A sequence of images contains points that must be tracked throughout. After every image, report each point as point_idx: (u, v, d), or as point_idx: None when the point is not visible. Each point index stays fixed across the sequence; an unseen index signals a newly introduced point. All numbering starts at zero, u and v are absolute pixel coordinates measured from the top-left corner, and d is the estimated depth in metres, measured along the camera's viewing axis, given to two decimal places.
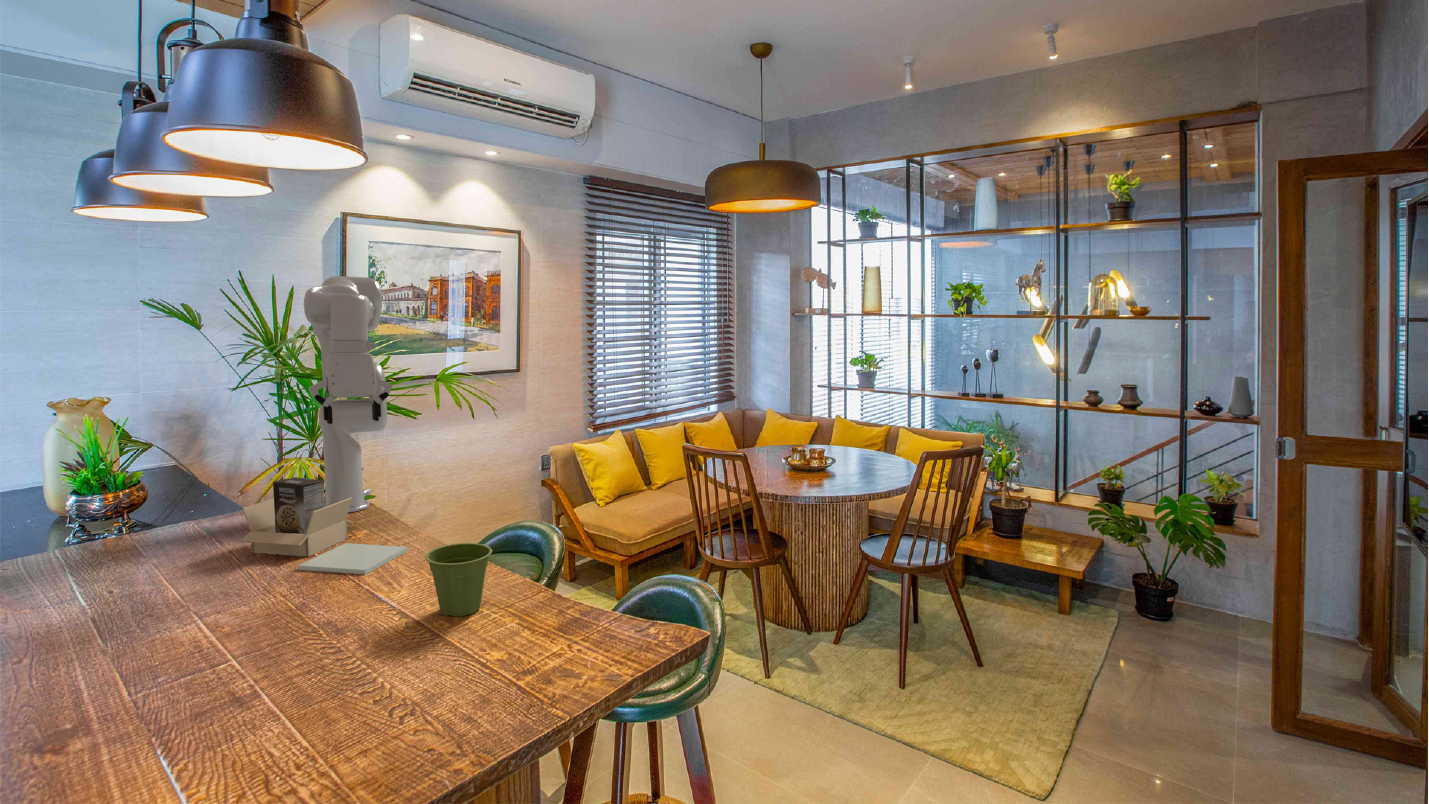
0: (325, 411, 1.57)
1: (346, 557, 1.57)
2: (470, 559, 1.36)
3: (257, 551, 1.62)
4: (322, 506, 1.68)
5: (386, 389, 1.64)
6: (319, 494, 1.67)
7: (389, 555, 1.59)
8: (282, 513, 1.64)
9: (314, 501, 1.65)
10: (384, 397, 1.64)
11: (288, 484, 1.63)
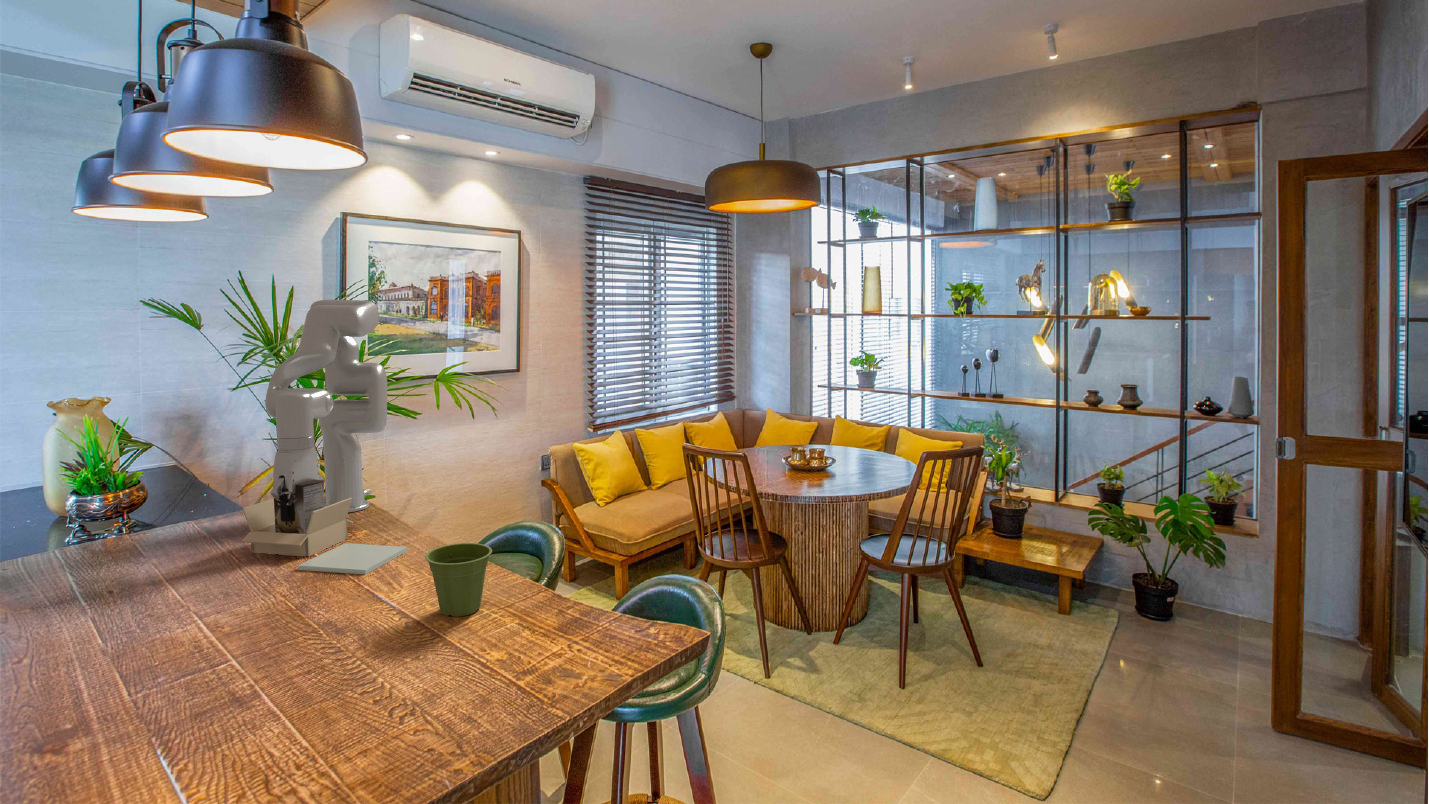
0: (287, 510, 1.62)
1: (346, 557, 1.57)
2: (470, 559, 1.36)
3: (257, 551, 1.62)
4: (322, 506, 1.68)
5: None
6: (319, 494, 1.67)
7: (389, 555, 1.59)
8: None
9: (314, 501, 1.65)
10: None
11: None
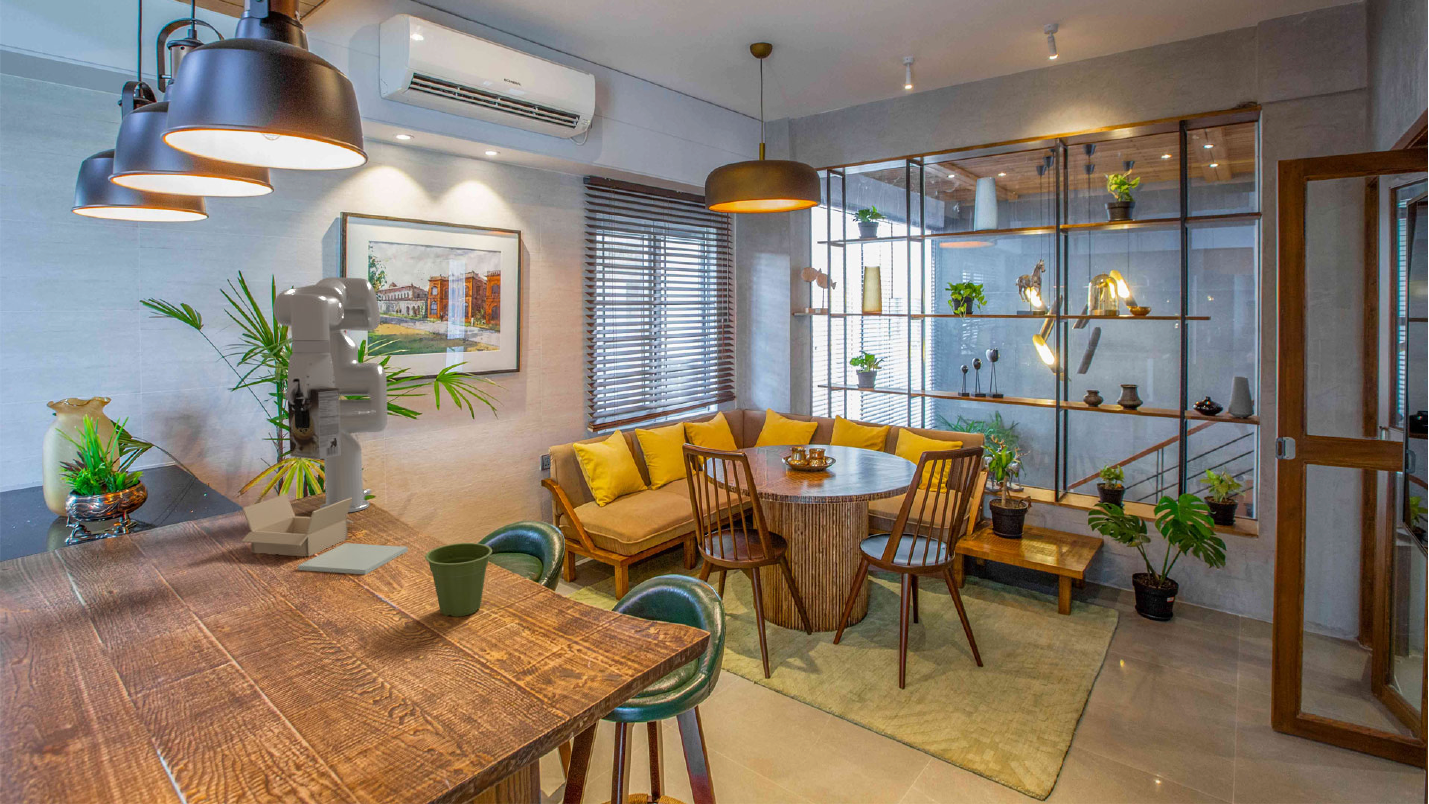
0: (302, 415, 1.56)
1: (346, 557, 1.57)
2: (470, 559, 1.36)
3: (257, 551, 1.62)
4: (337, 415, 1.62)
5: None
6: (335, 402, 1.61)
7: (389, 555, 1.59)
8: None
9: (329, 408, 1.59)
10: None
11: None
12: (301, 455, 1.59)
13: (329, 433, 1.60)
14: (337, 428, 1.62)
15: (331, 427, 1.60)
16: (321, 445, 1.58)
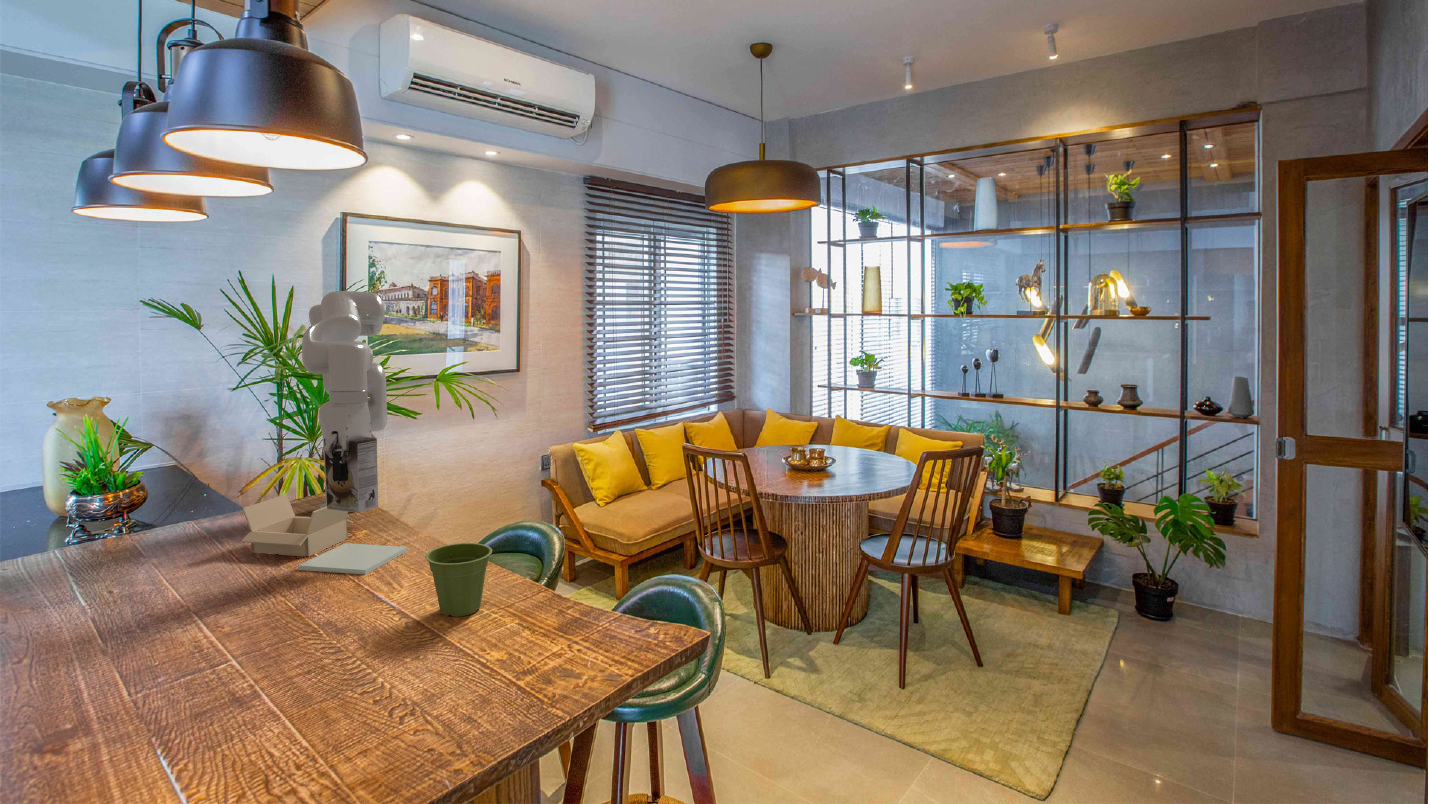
0: (340, 468, 1.51)
1: (346, 557, 1.57)
2: (470, 559, 1.36)
3: (257, 551, 1.62)
4: (375, 465, 1.57)
5: None
6: (373, 453, 1.56)
7: (389, 555, 1.59)
8: None
9: (368, 459, 1.55)
10: None
11: None
12: (339, 508, 1.54)
13: (367, 485, 1.55)
14: (375, 479, 1.57)
15: (370, 478, 1.56)
16: (360, 498, 1.53)
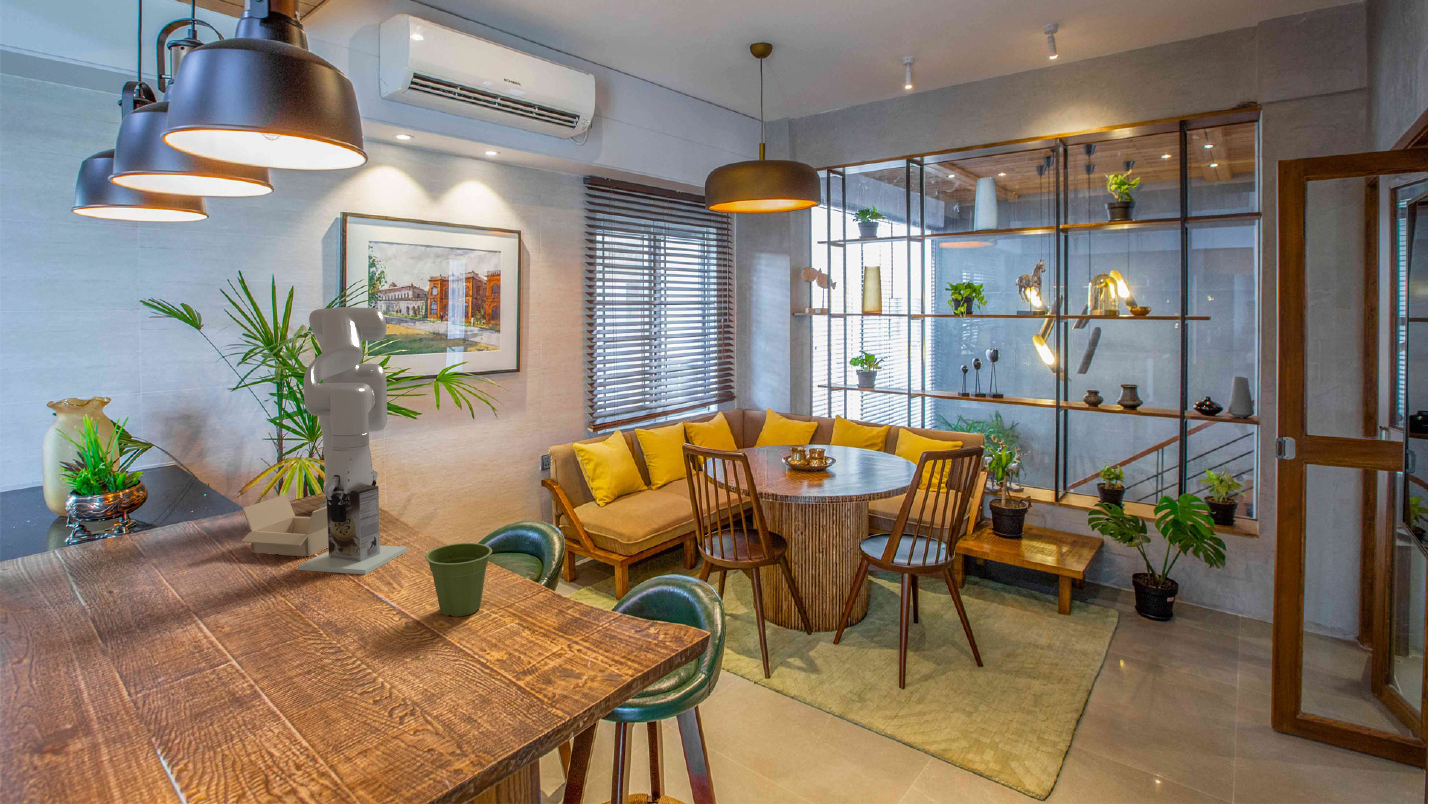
0: (339, 510, 1.51)
1: None
2: (470, 559, 1.36)
3: (257, 551, 1.62)
4: (377, 513, 1.59)
5: (374, 477, 1.64)
6: (374, 501, 1.58)
7: (389, 555, 1.59)
8: None
9: (370, 508, 1.56)
10: None
11: (343, 490, 1.54)
12: (341, 556, 1.56)
13: (369, 533, 1.57)
14: (377, 527, 1.59)
15: (371, 527, 1.57)
16: (362, 547, 1.55)
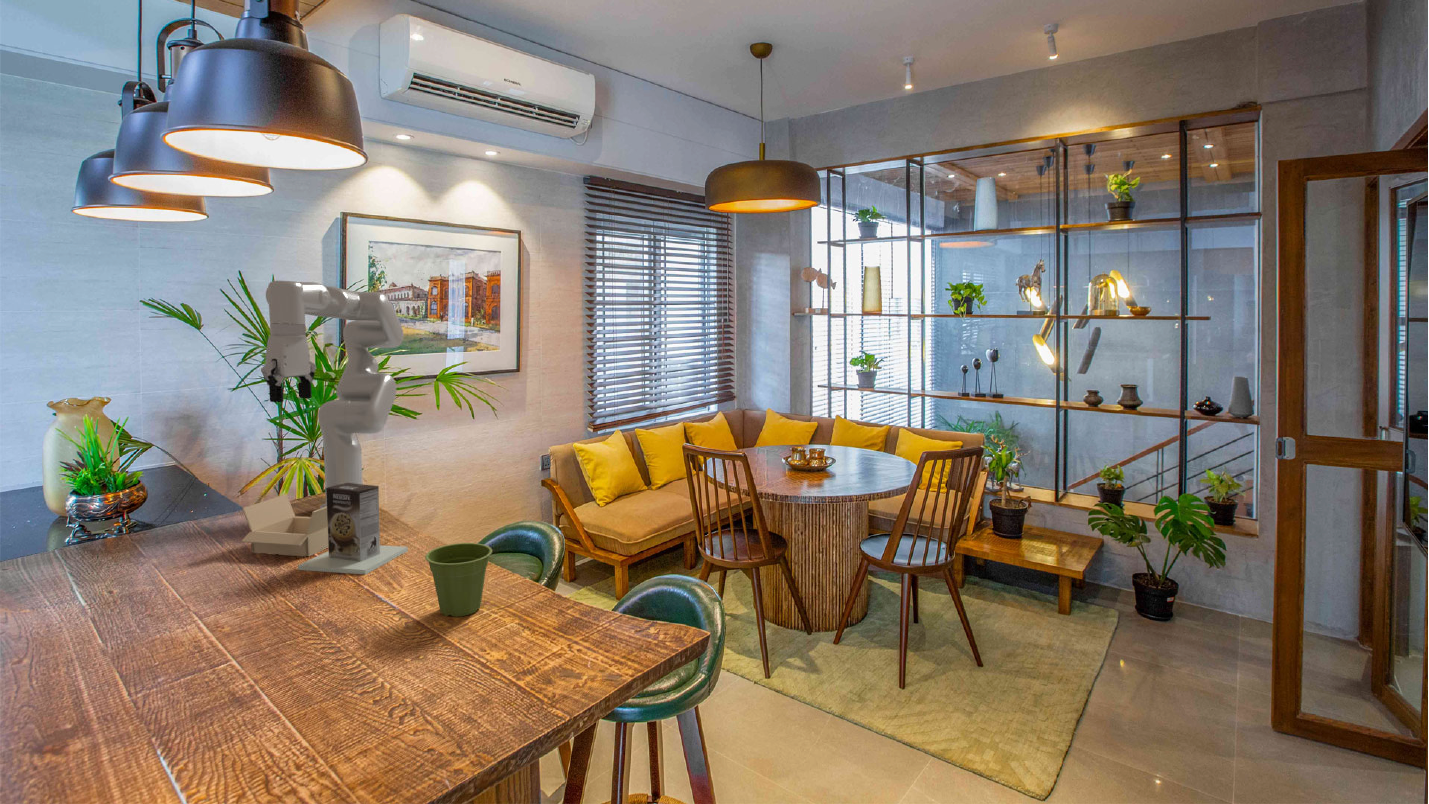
0: (276, 390, 1.68)
1: None
2: (470, 559, 1.36)
3: (257, 551, 1.62)
4: (377, 513, 1.59)
5: (312, 369, 1.80)
6: (375, 501, 1.58)
7: (389, 555, 1.59)
8: (336, 521, 1.55)
9: (370, 508, 1.56)
10: (312, 376, 1.80)
11: (343, 490, 1.54)
12: (341, 556, 1.56)
13: (369, 533, 1.57)
14: (377, 527, 1.59)
15: (371, 527, 1.57)
16: (362, 547, 1.55)
